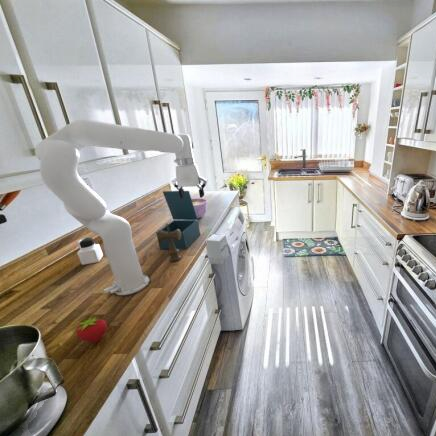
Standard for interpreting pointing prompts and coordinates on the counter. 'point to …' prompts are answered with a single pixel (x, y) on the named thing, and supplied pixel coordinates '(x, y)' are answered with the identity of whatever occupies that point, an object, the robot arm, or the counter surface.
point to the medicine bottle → (89, 251)
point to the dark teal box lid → (180, 205)
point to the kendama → (170, 241)
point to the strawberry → (92, 330)
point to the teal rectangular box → (187, 233)
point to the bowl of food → (200, 206)
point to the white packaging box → (217, 249)
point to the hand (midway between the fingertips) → (192, 197)
